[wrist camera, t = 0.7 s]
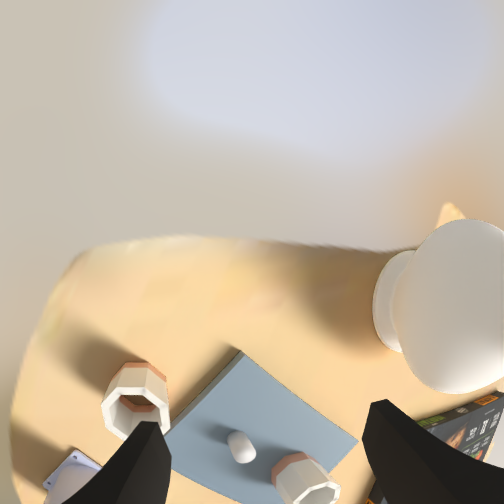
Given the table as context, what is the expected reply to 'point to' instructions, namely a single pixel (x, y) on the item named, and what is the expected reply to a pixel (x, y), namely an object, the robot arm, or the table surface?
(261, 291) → the table surface
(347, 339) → the table surface
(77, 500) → the robot arm
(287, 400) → the pin board
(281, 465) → the seated sleeve
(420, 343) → the decorative vase
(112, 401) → the sleeve
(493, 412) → the pizza box
